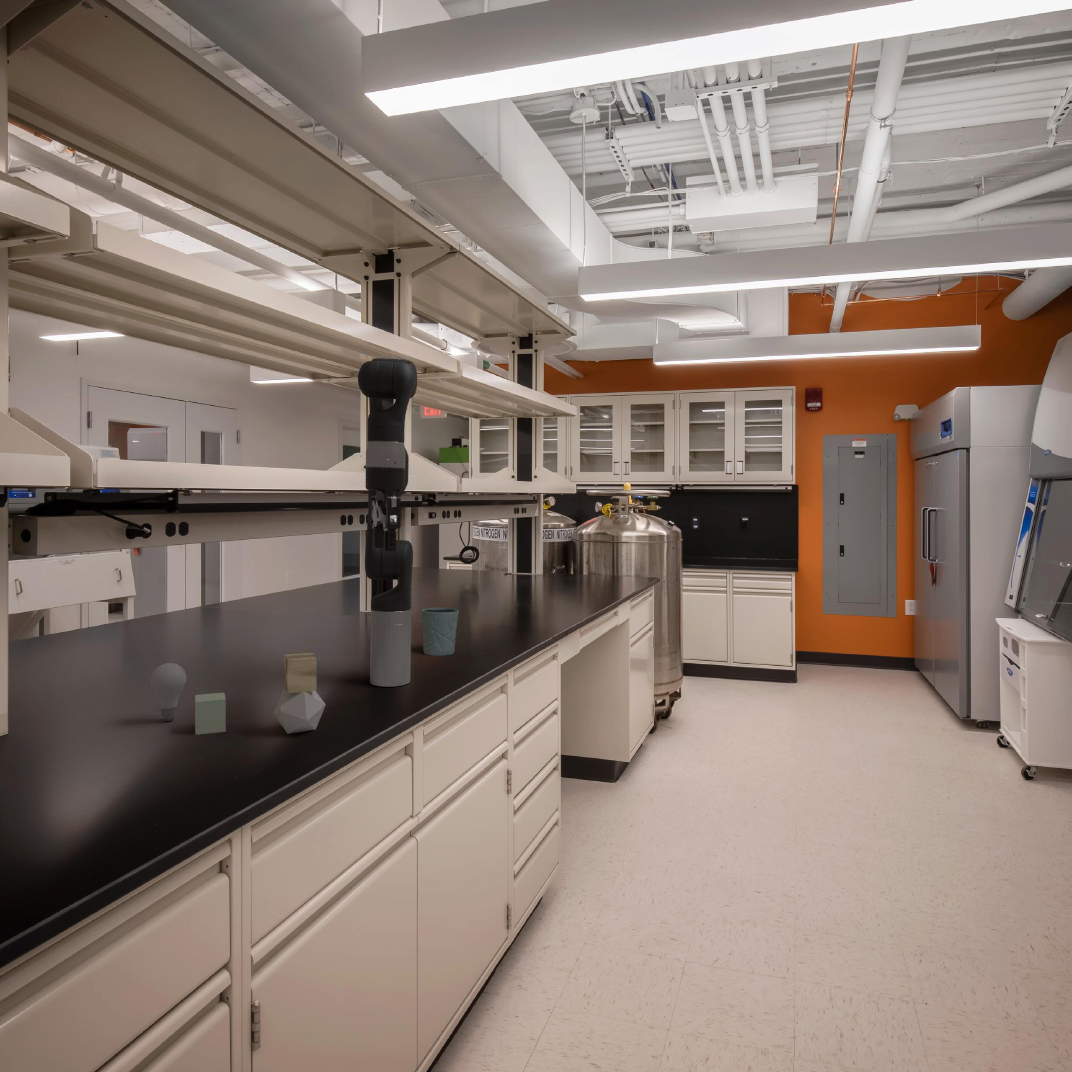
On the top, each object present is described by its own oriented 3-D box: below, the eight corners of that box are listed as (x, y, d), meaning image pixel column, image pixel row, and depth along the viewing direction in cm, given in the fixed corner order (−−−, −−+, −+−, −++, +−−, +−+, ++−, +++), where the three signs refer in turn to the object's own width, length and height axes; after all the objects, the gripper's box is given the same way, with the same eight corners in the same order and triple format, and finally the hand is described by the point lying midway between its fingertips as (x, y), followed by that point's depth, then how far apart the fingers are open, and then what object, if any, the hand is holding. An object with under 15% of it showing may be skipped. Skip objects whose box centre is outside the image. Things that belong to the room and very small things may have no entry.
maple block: (284, 686, 138) (284, 654, 138) (312, 684, 140) (312, 652, 140) (287, 693, 133) (287, 660, 133) (316, 690, 136) (316, 658, 135)
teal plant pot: (414, 654, 204) (415, 610, 203) (431, 647, 213) (431, 606, 213) (448, 657, 201) (449, 613, 200) (463, 650, 210) (464, 608, 210)
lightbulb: (192, 720, 141) (192, 663, 140) (158, 727, 136) (158, 668, 136) (178, 713, 145) (178, 658, 144) (145, 720, 140) (145, 663, 140)
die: (318, 723, 143) (288, 683, 142) (342, 709, 138) (310, 668, 137) (288, 749, 136) (256, 708, 136) (312, 736, 131) (279, 693, 131)
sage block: (195, 726, 137) (195, 694, 137) (224, 723, 140) (224, 692, 139) (195, 735, 133) (195, 702, 133) (225, 731, 135) (225, 699, 135)
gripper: (414, 465, 138) (413, 552, 139) (395, 467, 151) (394, 546, 152) (374, 464, 135) (373, 553, 136) (358, 466, 148) (357, 547, 149)
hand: (384, 549), depth 144 cm, fingers open, 8 cm apart
